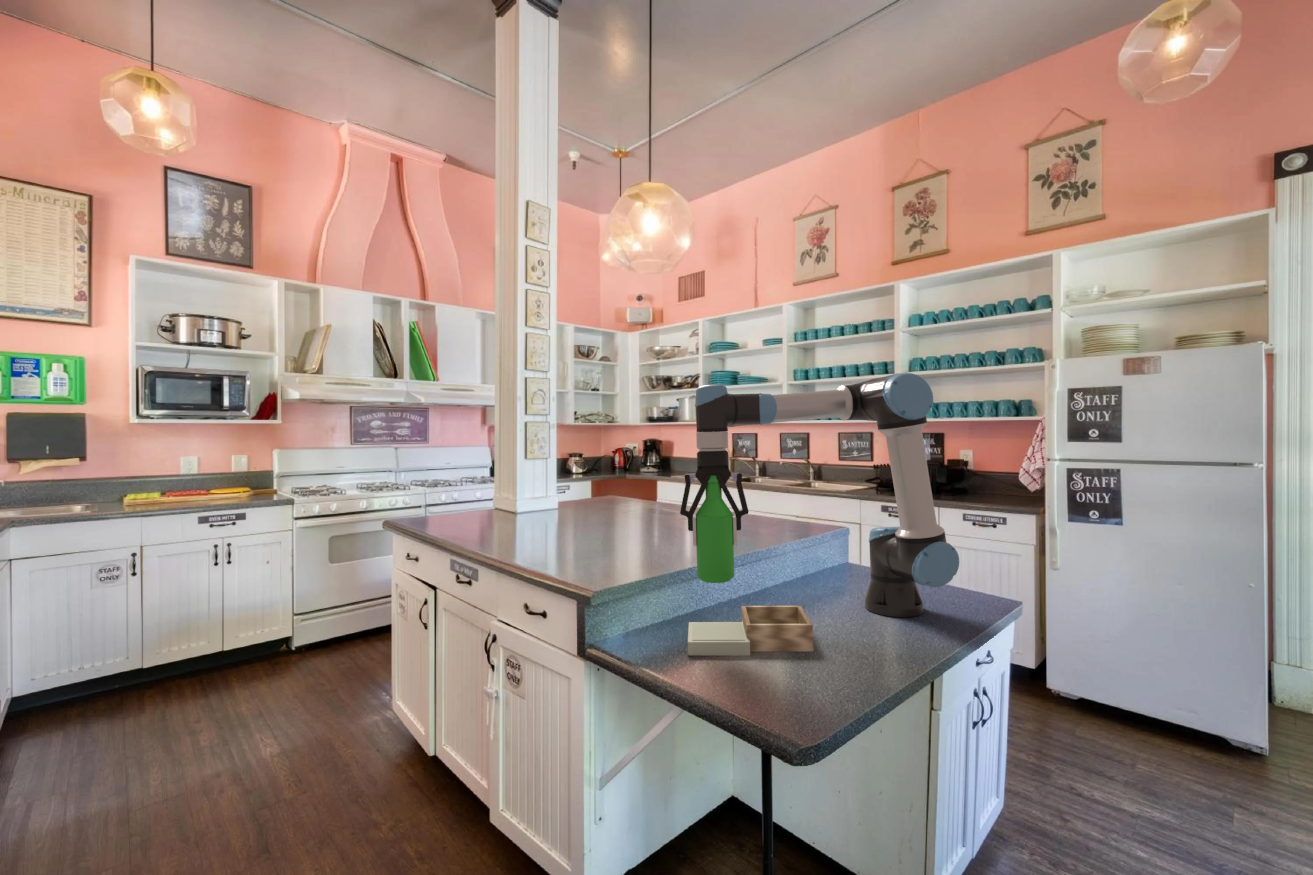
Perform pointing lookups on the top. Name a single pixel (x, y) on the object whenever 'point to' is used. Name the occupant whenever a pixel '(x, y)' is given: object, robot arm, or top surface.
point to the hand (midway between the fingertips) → (714, 544)
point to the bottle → (714, 537)
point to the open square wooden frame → (777, 628)
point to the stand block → (717, 639)
